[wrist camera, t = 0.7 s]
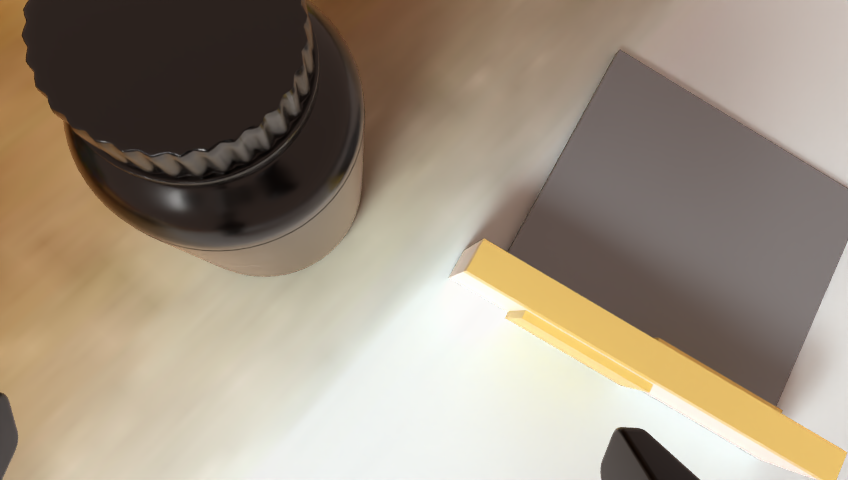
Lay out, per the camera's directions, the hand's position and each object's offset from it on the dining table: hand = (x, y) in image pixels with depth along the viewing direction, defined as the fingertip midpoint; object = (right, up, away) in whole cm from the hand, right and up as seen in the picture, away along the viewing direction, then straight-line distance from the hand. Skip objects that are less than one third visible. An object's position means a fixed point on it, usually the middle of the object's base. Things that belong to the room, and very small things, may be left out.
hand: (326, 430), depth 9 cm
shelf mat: (+12, +3, +15) cm, 19 cm away
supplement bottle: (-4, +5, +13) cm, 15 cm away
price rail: (+9, -2, +14) cm, 16 cm away
